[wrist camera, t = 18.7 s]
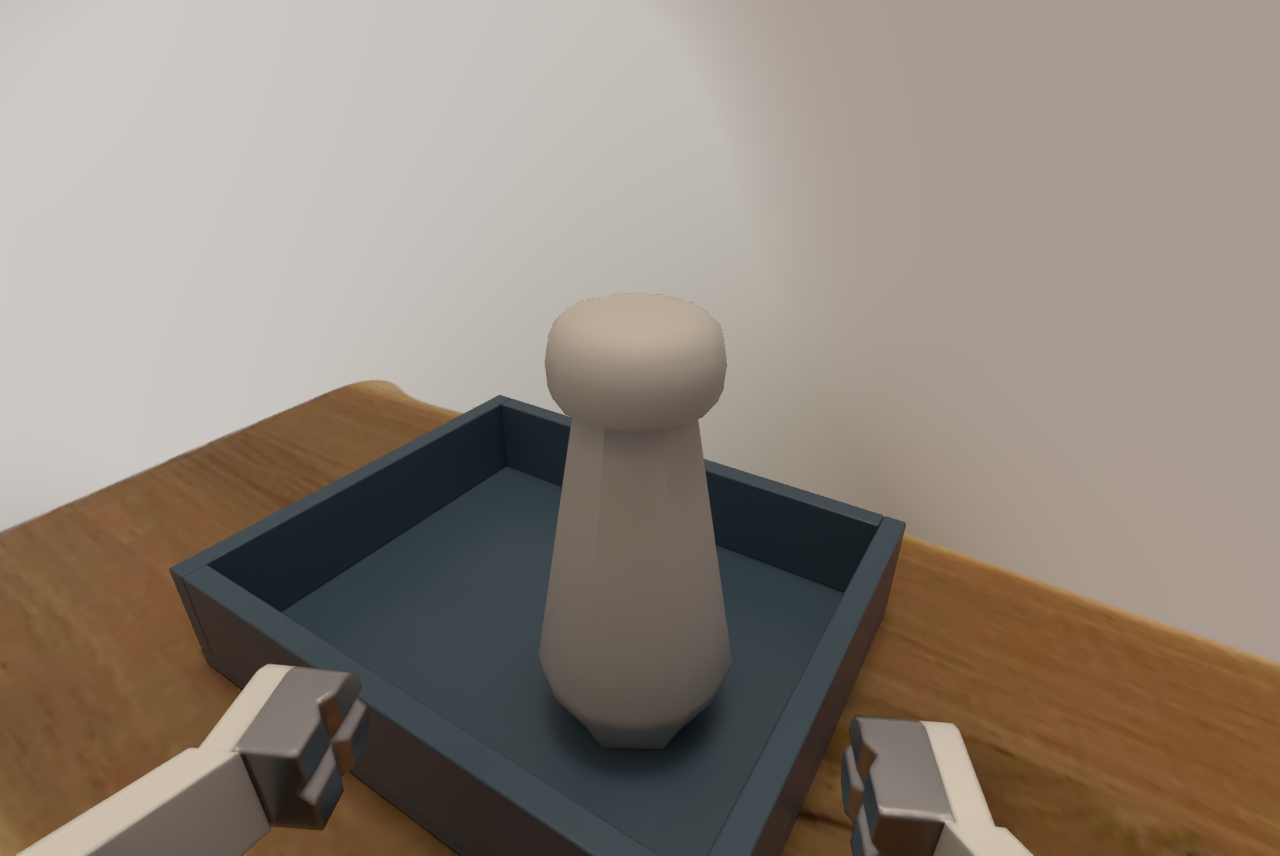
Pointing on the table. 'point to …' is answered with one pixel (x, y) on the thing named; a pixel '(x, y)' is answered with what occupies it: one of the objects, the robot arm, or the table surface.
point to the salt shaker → (635, 520)
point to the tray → (511, 634)
